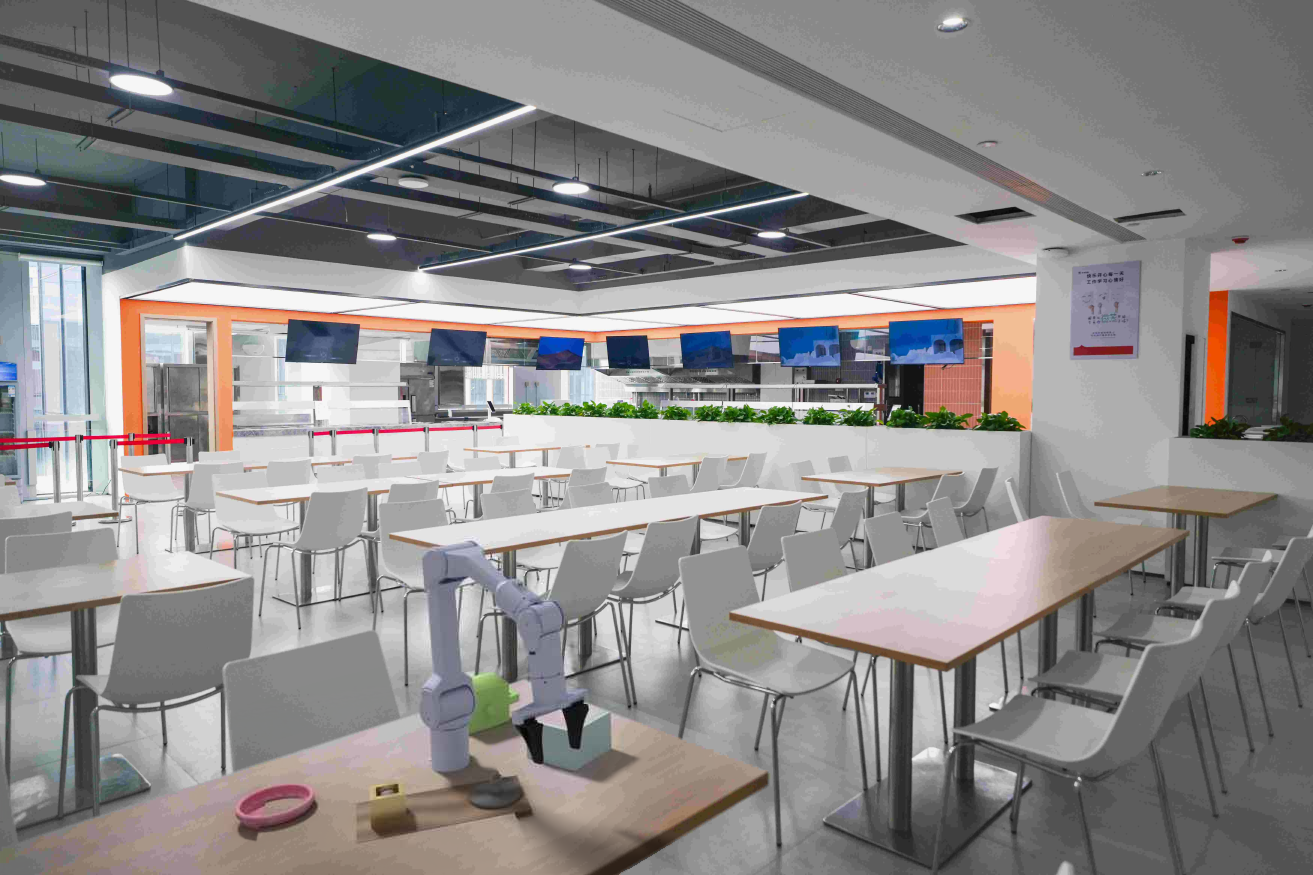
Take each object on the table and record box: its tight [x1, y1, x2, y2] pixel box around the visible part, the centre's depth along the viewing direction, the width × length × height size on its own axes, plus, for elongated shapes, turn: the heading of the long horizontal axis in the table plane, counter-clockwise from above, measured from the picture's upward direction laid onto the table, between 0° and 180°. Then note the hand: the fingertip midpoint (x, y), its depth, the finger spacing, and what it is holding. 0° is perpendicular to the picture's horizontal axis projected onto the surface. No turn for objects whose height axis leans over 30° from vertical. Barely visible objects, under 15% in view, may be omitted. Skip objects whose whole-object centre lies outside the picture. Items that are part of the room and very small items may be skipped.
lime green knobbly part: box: [468, 671, 520, 735], centre depth 178 cm, size 18×10×10 cm, turn 131°
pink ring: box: [234, 782, 316, 831], centre depth 139 cm, size 12×12×3 cm
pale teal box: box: [526, 711, 612, 772], centre depth 162 cm, size 12×12×8 cm
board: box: [356, 770, 533, 844], centre depth 139 cm, size 14×28×5 cm, turn 110°
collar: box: [368, 779, 407, 827], centre depth 136 cm, size 6×6×4 cm
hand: (557, 755), depth 137 cm, fingers open, 7 cm apart
